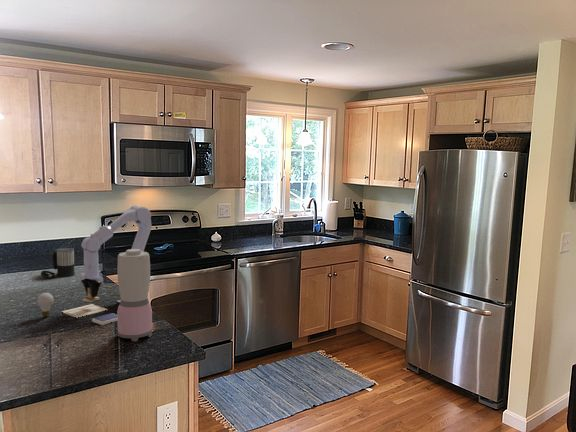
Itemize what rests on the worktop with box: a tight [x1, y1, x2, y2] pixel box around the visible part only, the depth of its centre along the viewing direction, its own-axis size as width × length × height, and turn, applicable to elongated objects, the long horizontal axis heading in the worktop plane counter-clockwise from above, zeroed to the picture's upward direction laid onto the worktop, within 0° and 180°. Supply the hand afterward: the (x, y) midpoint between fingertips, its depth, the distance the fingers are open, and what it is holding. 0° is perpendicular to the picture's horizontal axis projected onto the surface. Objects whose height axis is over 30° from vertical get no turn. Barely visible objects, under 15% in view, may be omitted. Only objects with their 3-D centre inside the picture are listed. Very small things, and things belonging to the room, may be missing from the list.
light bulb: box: [36, 292, 54, 318], centre depth 191 cm, size 6×6×10 cm
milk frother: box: [40, 247, 76, 279], centre depth 258 cm, size 14×16×15 cm
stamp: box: [83, 287, 100, 304], centre depth 202 cm, size 4×4×6 cm
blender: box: [116, 248, 153, 342], centre depth 172 cm, size 16×12×32 cm
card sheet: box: [61, 303, 109, 319], centre depth 200 cm, size 14×12×1 cm
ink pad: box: [91, 312, 117, 326], centre depth 189 cm, size 9×7×2 cm
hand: (92, 296), depth 202 cm, fingers closed on stamp, 3 cm apart
